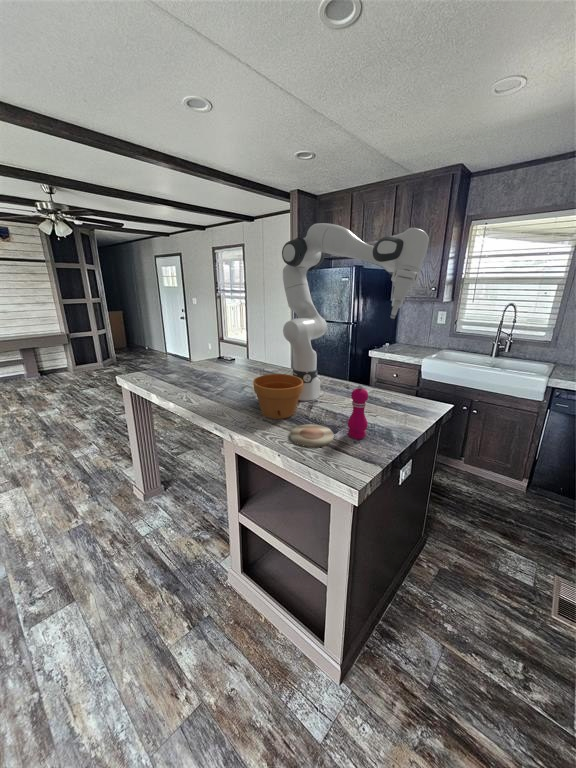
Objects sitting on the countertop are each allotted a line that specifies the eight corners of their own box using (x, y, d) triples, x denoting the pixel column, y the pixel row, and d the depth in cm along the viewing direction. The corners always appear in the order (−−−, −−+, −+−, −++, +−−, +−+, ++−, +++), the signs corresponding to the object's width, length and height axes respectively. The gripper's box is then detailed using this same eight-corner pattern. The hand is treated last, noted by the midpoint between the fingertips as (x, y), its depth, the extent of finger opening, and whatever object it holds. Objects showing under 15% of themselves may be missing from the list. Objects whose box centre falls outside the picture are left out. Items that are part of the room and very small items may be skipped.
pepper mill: (363, 430, 124) (367, 381, 118) (368, 439, 117) (373, 387, 111) (345, 430, 124) (348, 381, 117) (349, 439, 117) (352, 388, 111)
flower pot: (308, 407, 147) (309, 376, 142) (293, 426, 128) (293, 391, 123) (266, 401, 153) (265, 371, 149) (246, 418, 135) (244, 385, 130)
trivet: (287, 428, 126) (287, 425, 125) (327, 426, 128) (327, 423, 127) (293, 448, 111) (293, 445, 110) (338, 445, 113) (338, 442, 112)
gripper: (394, 282, 123) (384, 317, 126) (397, 268, 104) (384, 310, 106) (411, 285, 122) (400, 321, 124) (417, 272, 102) (403, 315, 105)
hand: (393, 316), depth 115 cm, fingers open, 8 cm apart
